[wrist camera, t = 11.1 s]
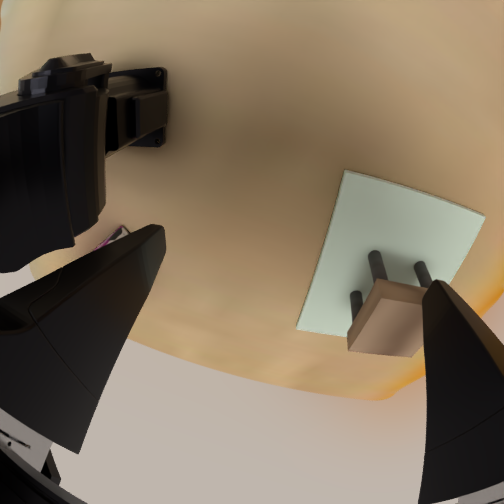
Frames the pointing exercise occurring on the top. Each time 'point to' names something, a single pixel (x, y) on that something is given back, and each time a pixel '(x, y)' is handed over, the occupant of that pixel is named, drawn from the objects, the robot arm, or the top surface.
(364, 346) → the walnut stool
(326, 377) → the top surface
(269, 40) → the top surface
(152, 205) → the top surface
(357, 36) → the top surface
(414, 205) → the felt mat
